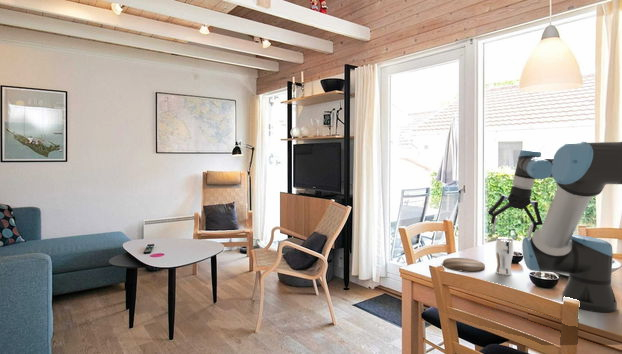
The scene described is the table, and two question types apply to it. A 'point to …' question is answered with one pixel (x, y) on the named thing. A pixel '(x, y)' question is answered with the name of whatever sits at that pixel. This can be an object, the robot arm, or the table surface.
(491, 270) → the table surface
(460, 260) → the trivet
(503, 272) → the beer glass
